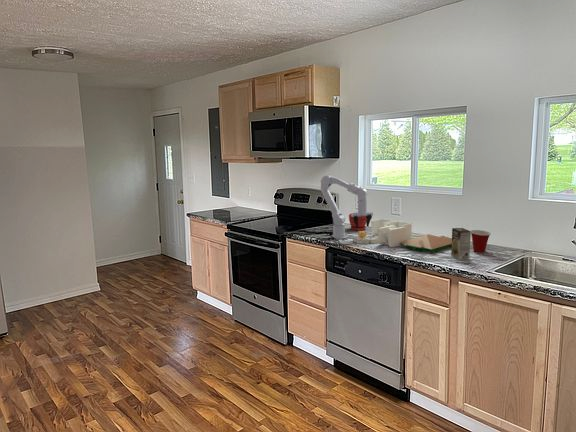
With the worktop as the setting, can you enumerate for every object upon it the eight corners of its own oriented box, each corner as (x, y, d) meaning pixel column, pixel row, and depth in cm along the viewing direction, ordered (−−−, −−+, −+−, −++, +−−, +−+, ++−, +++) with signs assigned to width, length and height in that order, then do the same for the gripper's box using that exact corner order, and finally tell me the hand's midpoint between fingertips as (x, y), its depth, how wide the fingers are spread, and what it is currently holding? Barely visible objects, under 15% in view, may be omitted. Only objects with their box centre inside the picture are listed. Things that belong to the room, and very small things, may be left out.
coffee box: (450, 256, 236) (451, 228, 234) (461, 255, 237) (462, 227, 234) (458, 260, 227) (459, 231, 225) (469, 259, 228) (471, 230, 225)
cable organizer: (389, 248, 257) (389, 230, 255) (377, 245, 266) (377, 227, 264) (406, 245, 265) (406, 226, 263) (394, 242, 274) (394, 224, 272)
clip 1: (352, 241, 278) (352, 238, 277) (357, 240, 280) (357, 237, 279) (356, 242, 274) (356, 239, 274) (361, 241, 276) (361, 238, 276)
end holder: (363, 240, 280) (363, 236, 280) (376, 239, 282) (376, 235, 281) (369, 243, 271) (369, 239, 271) (382, 242, 273) (382, 238, 273)
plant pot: (353, 227, 325) (353, 211, 323) (369, 228, 318) (369, 213, 315) (345, 230, 315) (345, 214, 313) (361, 231, 307) (361, 215, 305)
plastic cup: (486, 255, 236) (487, 234, 234) (466, 252, 243) (467, 232, 241) (492, 251, 244) (493, 231, 242) (473, 248, 251) (474, 229, 249)
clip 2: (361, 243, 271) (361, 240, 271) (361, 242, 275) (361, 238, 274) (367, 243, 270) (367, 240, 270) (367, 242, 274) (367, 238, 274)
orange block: (357, 238, 288) (357, 230, 287) (362, 237, 289) (362, 230, 288) (360, 239, 282) (360, 232, 281) (366, 239, 283) (366, 232, 282)
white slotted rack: (411, 239, 280) (411, 223, 279) (401, 242, 274) (401, 225, 272) (381, 233, 300) (381, 218, 298) (371, 236, 293) (371, 220, 291)
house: (396, 248, 258) (396, 235, 257) (428, 240, 278) (428, 227, 277) (428, 255, 240) (429, 241, 239) (460, 246, 260) (460, 233, 259)
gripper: (354, 208, 275) (354, 228, 278) (374, 206, 278) (374, 227, 281) (350, 206, 282) (350, 226, 284) (370, 205, 285) (370, 225, 287)
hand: (362, 226), depth 283 cm, fingers open, 7 cm apart
